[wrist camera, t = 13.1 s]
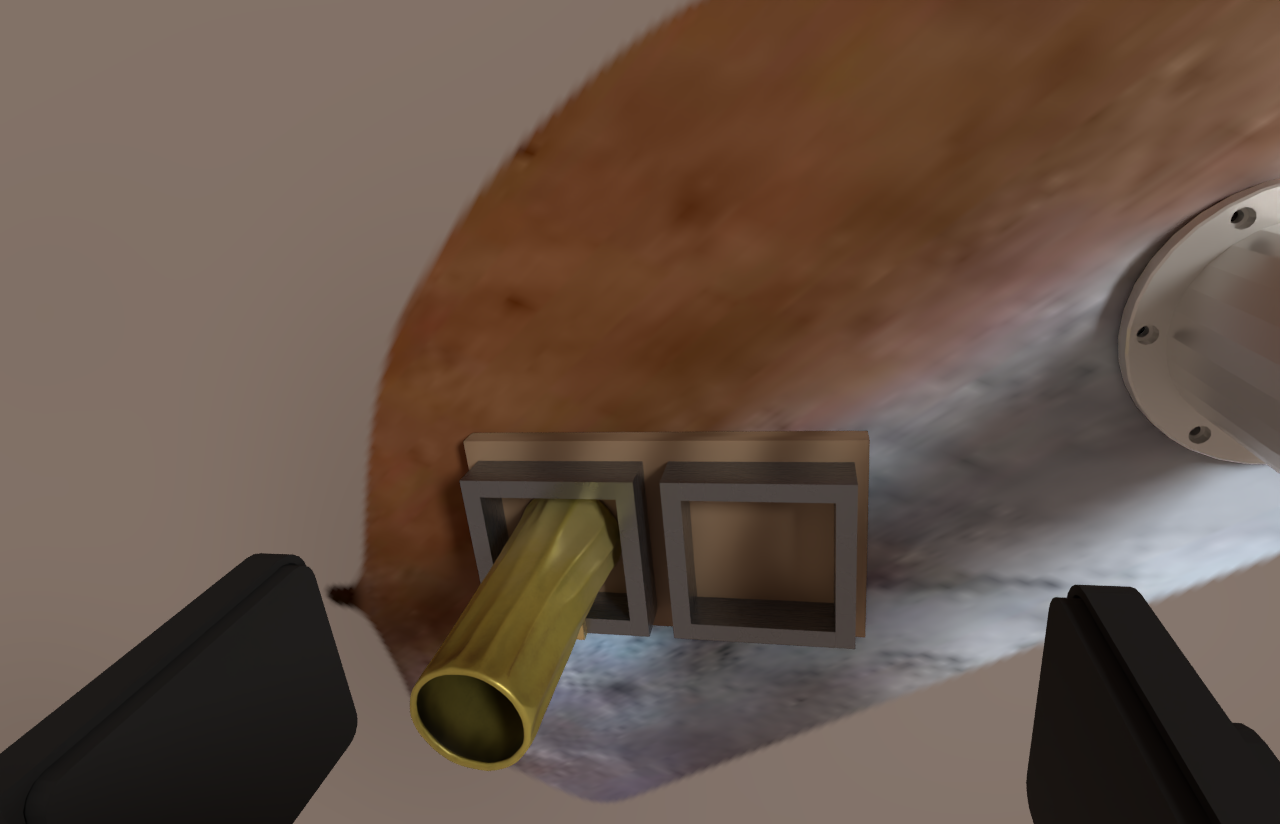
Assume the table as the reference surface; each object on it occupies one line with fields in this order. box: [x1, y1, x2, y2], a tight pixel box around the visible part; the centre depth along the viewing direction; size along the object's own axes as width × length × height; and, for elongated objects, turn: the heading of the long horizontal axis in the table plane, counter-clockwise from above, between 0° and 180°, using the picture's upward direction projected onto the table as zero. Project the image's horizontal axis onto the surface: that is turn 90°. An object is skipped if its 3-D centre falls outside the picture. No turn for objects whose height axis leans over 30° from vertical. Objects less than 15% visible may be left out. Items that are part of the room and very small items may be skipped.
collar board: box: [463, 431, 870, 637], centre depth 41 cm, size 22×12×1 cm, turn 95°
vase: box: [410, 498, 622, 771], centre depth 35 cm, size 6×6×14 cm
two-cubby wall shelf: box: [460, 461, 858, 649], centre depth 39 cm, size 21×10×3 cm, turn 95°
